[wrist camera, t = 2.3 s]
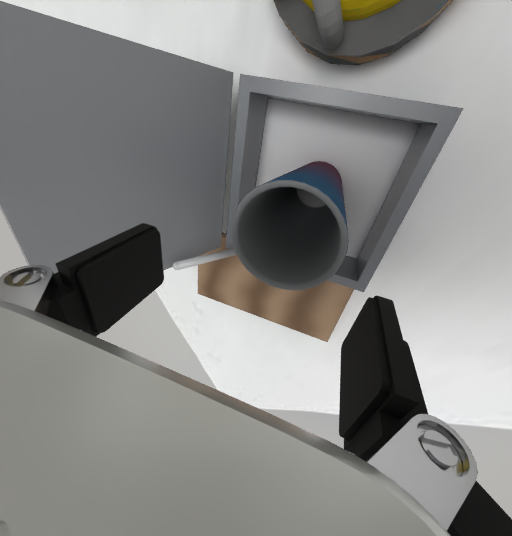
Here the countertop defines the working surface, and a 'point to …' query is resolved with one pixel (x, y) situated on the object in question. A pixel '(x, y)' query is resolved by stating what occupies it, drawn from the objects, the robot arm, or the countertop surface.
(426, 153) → the equipment case
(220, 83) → the case lid
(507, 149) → the countertop surface
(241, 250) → the cup
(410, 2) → the cage light
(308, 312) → the walnut board
